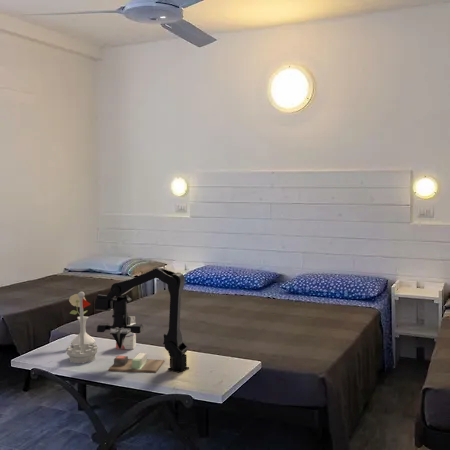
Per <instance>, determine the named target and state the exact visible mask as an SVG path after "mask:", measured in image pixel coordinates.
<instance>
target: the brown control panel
mask: <svg viewBox="0 0 450 450" xmlns="http://www.w3.org/2000/svg"><path fill="white" fill-rule="evenodd" d="M118 356H119V355H117V356H115V358H114V359H113V364H112V365H111V366H110V367H108V369H107V370H108V371H109V372H129V373H130V372H131V373H132V372H136V373H157V372H158V371H159V369H160V368H161V367H162V366H163V364H164V363H165V359H152V358H151V359H149V358H147V361H146V362H145V363H144V364H143V365H142V366H141V367H140V368H132V360H133V359H134V358H129V356H127V355H125V356H126V358H125V359H116V358H117V357H118Z"/></svg>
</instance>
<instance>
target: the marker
mask: <svg viewBox="0 0 450 450" xmlns="http://www.w3.org/2000/svg"><path fill="white" fill-rule="evenodd" d="M147 354H148V353H147V352H139V353H138V354H137V355H136V356H135V357H134V358H132V359H133V360H132V368H140V367H141V366H142V365H143V364H144V363H145V362H146V361H147V359H148V358H147Z"/></svg>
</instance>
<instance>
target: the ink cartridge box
mask: <svg viewBox="0 0 450 450" xmlns="http://www.w3.org/2000/svg"><path fill="white" fill-rule="evenodd" d="M128 316H129V317H131V322H130V325H127V326H132V325H133V324H137V323H136V316H135V315H134V316H130V315H128ZM121 332H122V331H121ZM121 332H120V333H121ZM136 347H137V333H132V332H131V330H130V332H129V333H128V334H127V335H126V337H125V339H124V342H123V345H122V348H119V347H118V345H117V343H116V342H115V349H117V350H134V349H135V348H136Z"/></svg>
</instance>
